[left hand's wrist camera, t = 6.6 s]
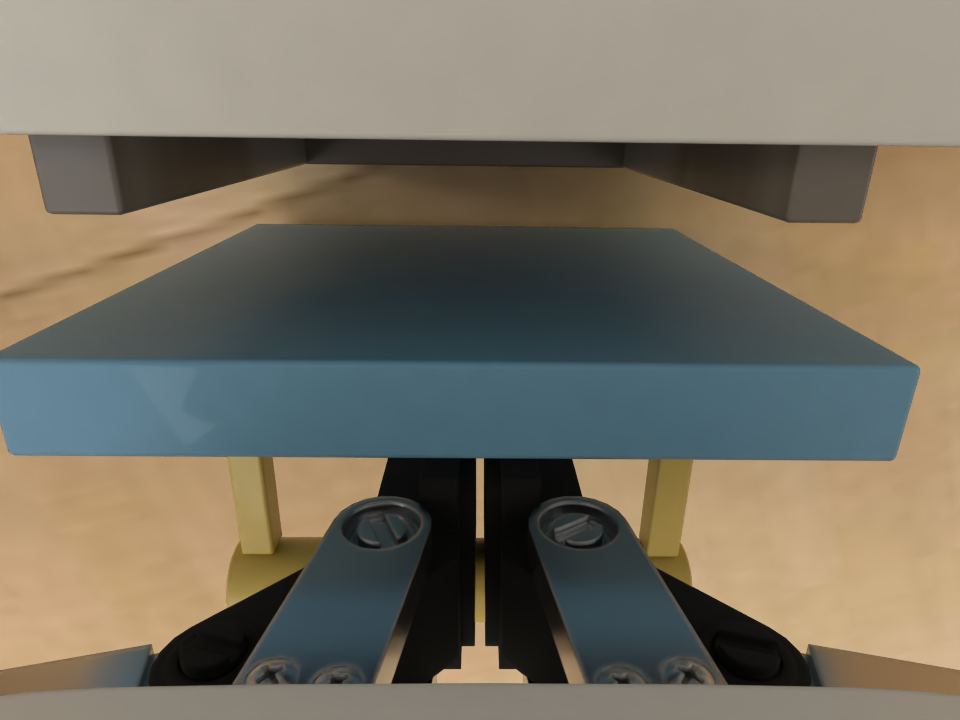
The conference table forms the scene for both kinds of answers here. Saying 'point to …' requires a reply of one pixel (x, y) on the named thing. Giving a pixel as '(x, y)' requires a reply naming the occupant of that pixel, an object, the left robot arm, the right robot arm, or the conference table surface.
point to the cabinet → (487, 70)
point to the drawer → (452, 333)
